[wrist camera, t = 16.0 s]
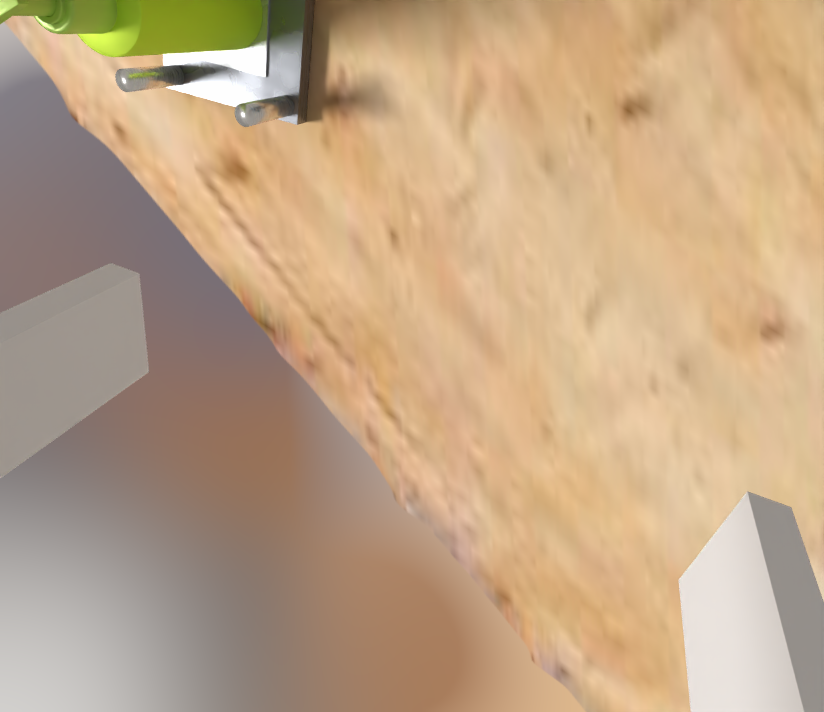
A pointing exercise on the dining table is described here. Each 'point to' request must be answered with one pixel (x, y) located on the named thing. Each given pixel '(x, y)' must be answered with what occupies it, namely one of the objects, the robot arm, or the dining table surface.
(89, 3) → the soap dispenser
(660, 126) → the dining table surface
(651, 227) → the dining table surface
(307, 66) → the display stand
